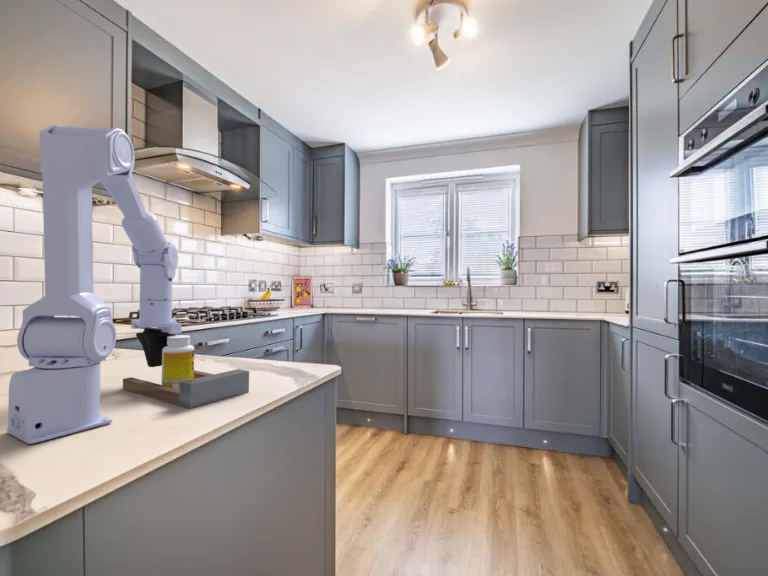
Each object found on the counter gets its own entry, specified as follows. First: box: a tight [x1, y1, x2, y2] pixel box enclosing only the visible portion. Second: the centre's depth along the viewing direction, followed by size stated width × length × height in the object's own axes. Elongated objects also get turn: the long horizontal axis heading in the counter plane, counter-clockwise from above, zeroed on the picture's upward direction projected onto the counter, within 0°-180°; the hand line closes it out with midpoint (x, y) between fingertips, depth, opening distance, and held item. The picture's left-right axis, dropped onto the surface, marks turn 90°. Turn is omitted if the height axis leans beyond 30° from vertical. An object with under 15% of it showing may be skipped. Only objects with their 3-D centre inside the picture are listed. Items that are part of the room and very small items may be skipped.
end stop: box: [178, 368, 250, 409], centre depth 69 cm, size 12×3×4 cm, turn 150°
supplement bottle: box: [161, 334, 195, 390], centre depth 75 cm, size 6×6×10 cm
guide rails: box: [122, 369, 215, 406], centre depth 74 cm, size 12×18×2 cm, turn 60°
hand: (154, 366), depth 79 cm, fingers closed
